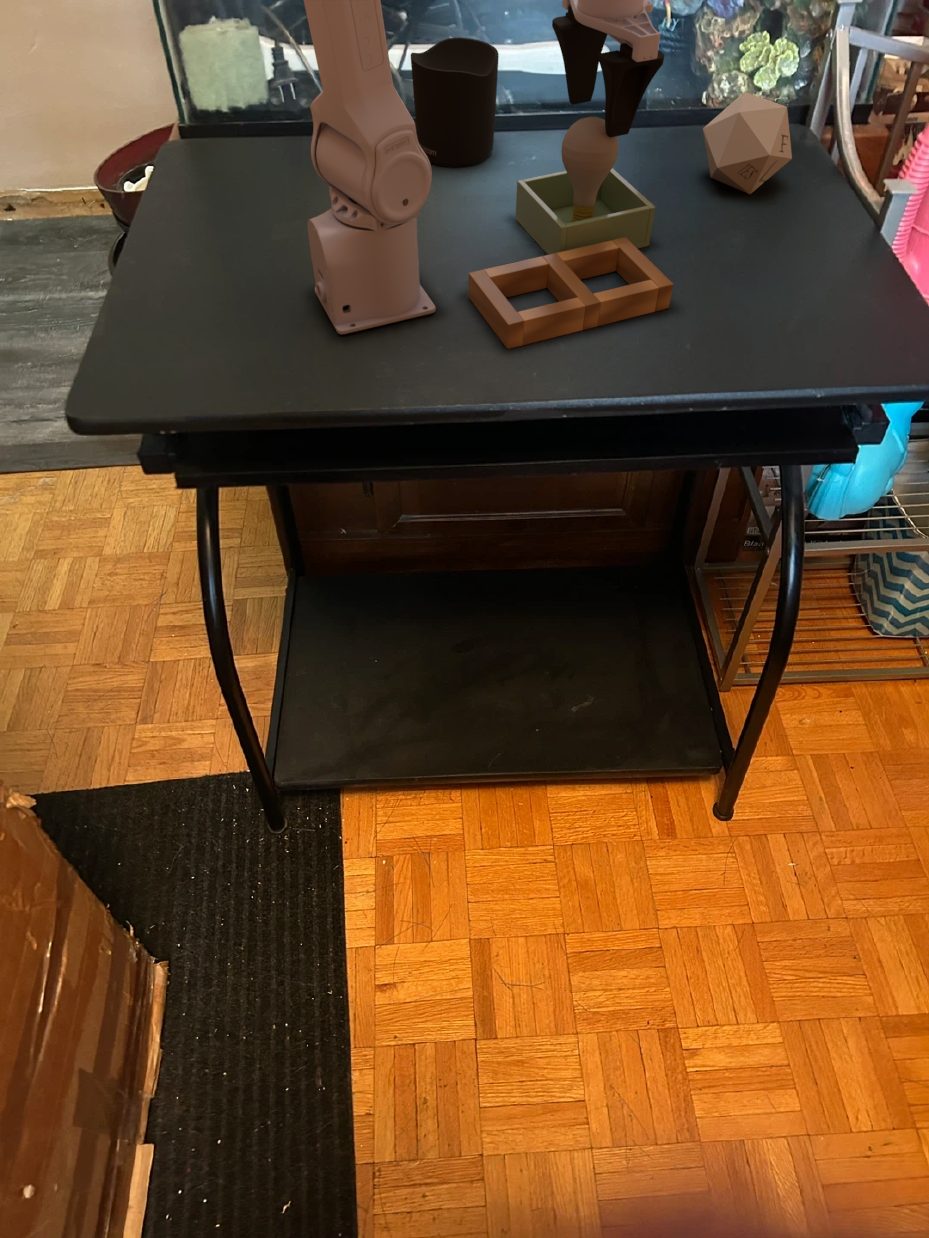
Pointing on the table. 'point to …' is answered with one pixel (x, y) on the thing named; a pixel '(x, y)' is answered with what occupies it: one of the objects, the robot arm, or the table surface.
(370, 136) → the robot arm
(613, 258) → the frame
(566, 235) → the basin
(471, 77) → the pen holder
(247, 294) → the table surface
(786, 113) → the die
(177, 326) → the table surface
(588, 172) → the light bulb
